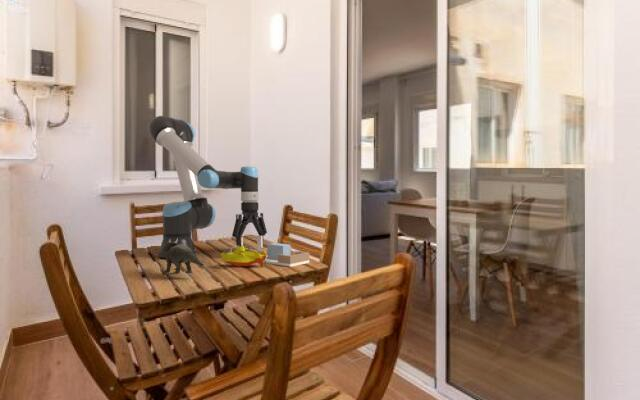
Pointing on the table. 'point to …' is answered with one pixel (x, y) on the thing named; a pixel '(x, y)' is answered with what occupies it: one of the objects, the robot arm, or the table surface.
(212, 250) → the table surface
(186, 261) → the dinosaur figurine
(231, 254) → the toy boat
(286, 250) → the block
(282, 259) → the jig
